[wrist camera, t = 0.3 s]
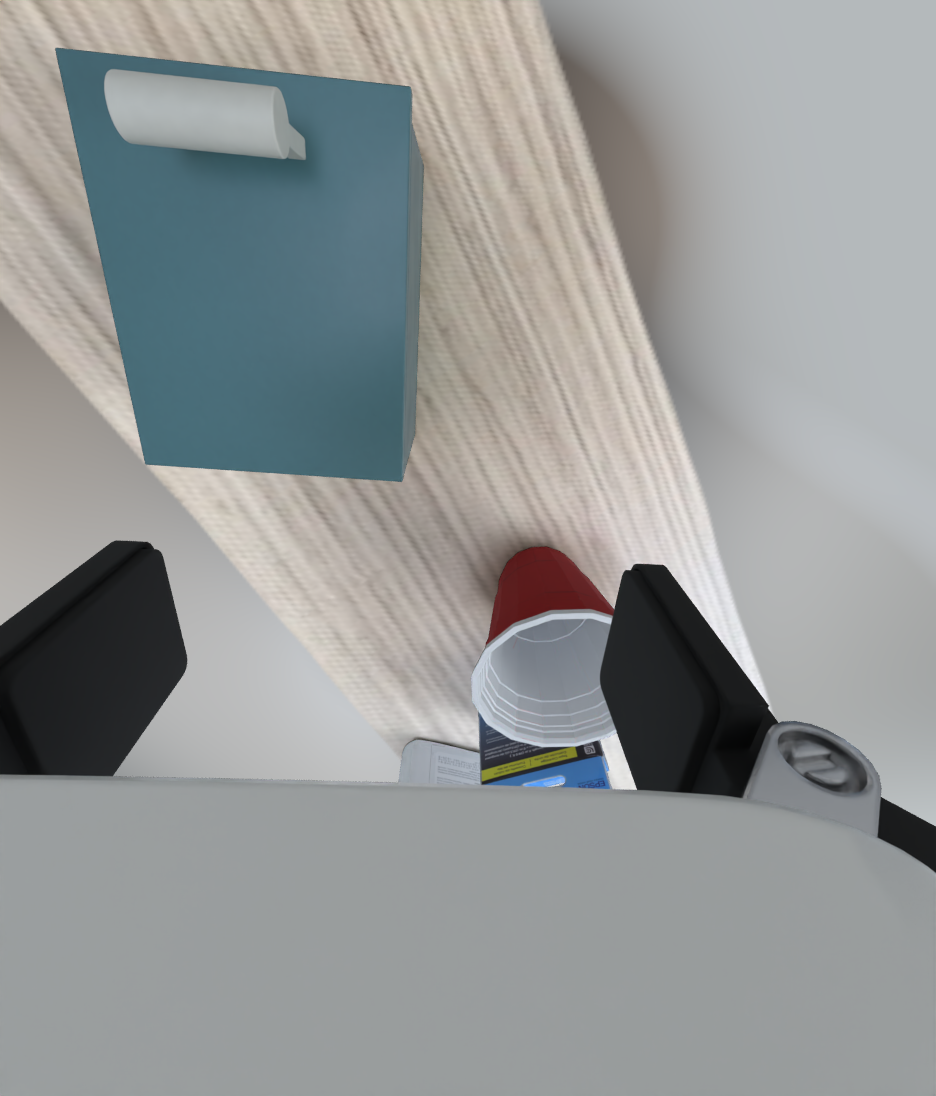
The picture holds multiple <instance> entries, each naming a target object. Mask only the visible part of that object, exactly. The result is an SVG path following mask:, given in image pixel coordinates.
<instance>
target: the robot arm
mask: <svg viewBox="0 0 936 1096" xmlns="http://www.w3.org/2000/svg"><path fill="white" fill-rule="evenodd" d="M186 666H187V654H186V650H185V646H184V642H183V638H182V634H181V629H180V626H179V622H178V617H177V613H176V609H175V605H174V600H173V596H172V592H171V588H170V584H169V580H168V576H167V572H166V567H165V563H164V559H163V556H162V554H161V552H160V551H159V550H156V549H154V548H153V546H152V545H151V544H150V543H148V542H137V541H114V542H111V543H110V544H109V545H107V546H106V547H105V548H103V549H102V550H101V551H99V552H98V553H97V554H95V555H94V556H93V557H91V558H90V559H89V560H87V561H86V562H85V563H83V564H82V565H81V566H79V567H78V568H77V569H75V570H74V571H73V572H72V573H70V574H69V575H67V576H66V577H65V578H63V579H62V580H61V581H59V582H58V583H57V584H56V585H54V586H53V587H51V588H50V589H49V590H47V591H46V592H45V593H43V594H42V595H41V596H39V597H38V598H37V599H35V600H34V601H33V602H31V603H30V604H29V605H27V606H26V607H25V608H23V609H22V610H21V611H20V612H18V613H17V614H15V615H14V616H13V617H11V618H10V619H9V620H8V621H6V622H5V623H3V624H2V625H1V626H0V1096H936V826H934V825H932V824H930V823H928V822H926V821H924V820H923V819H921V818H919V817H917V816H915V815H913V814H911V813H910V812H908V811H906V810H904V809H902V808H900V807H898V806H897V805H895V804H893V803H891V802H889V801H887V800H885V799H884V798H882V797H881V783H880V778H879V775H878V773H877V772H876V770H875V768H874V766H873V765H872V763H871V762H870V761H869V760H868V759H867V758H866V757H865V756H864V755H863V754H862V753H861V752H860V751H859V750H858V749H857V748H855V747H854V746H853V745H851V744H850V743H849V742H847V741H846V740H845V739H843V738H841V737H839V736H837V735H835V734H834V733H832V732H830V731H828V730H825V729H823V728H820V727H818V726H815V725H812V724H808V723H802V722H797V721H789V722H788V721H787V722H780V723H778V722H777V720H776V719H775V717H774V716H773V715H772V713H771V712H770V711H769V709H768V706H769V705H768V704H767V703H766V701H765V700H764V699H763V697H762V696H761V695H760V693H759V692H758V690H757V689H756V688H755V686H754V685H753V684H752V682H751V681H750V680H749V678H748V677H747V676H746V674H745V673H744V672H743V670H742V669H741V668H740V666H739V665H738V663H737V662H736V661H735V659H734V658H733V657H732V655H731V654H730V653H729V651H728V650H727V649H726V647H725V646H724V645H723V643H722V642H721V640H720V639H719V638H718V636H717V635H716V634H715V632H714V631H713V630H712V628H711V627H710V626H709V624H708V623H707V622H706V620H705V619H704V618H703V616H702V615H701V613H700V612H699V611H698V609H697V608H696V607H695V605H694V604H693V603H692V601H691V600H690V599H689V597H688V596H687V595H686V593H685V592H684V590H683V589H682V588H681V586H680V585H679V584H678V582H677V581H676V580H675V578H674V577H673V576H672V574H671V573H670V572H669V570H668V569H667V567H665V566H664V565H653V564H635V565H634V566H633V567H632V569H631V570H626V571H624V573H623V575H622V579H621V583H620V587H619V592H618V596H617V600H616V605H615V609H614V613H613V618H612V622H611V626H610V631H609V635H608V639H607V644H606V648H605V652H604V657H603V661H602V665H601V669H600V686H601V690H602V692H603V695H604V698H605V701H606V704H607V706H608V709H609V712H610V715H611V718H612V720H613V723H614V726H615V729H616V732H617V734H618V737H619V740H620V743H621V746H622V748H623V751H624V754H625V757H626V760H627V762H628V765H629V768H630V771H631V774H632V776H633V779H634V782H635V785H636V788H637V790H620V789H593V788H569V787H535V786H502V785H468V784H435V783H396V782H357V781H355V782H354V781H317V780H316V781H315V780H273V779H230V778H229V779H228V778H226V779H225V778H176V777H121V776H113V775H114V773H115V772H116V771H117V769H118V768H119V766H120V765H121V763H122V762H123V761H124V759H125V758H126V756H127V755H128V753H129V752H130V751H131V749H132V748H133V746H134V745H135V743H136V742H137V740H138V739H139V737H140V736H141V735H142V733H143V732H144V731H145V729H146V727H147V726H148V725H149V723H150V722H151V720H152V719H153V718H154V716H155V715H156V713H157V712H158V710H159V709H160V708H161V706H162V705H163V703H164V702H165V700H166V699H167V698H168V696H169V695H170V693H171V692H172V690H173V689H174V688H175V686H176V685H177V683H178V682H179V680H180V679H181V677H182V676H183V674H184V672H185V670H186Z"/></svg>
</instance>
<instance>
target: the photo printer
mask: <svg viewBox="0 0 936 1096" xmlns="http://www.w3.org/2000/svg"><path fill="white" fill-rule="evenodd" d="M398 783H435V784H468V785H481V784H480V753H477V752H473V751H469V750H465V749H460V748H456V747H452V746H448V745H444V744H440V743H435V742H430V741H424V740H414V741H412V742H410V743H409V744H407V745H406V747H405V748H404V750H403V753H402V760H401V767H400V774H399V782H398Z"/></svg>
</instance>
